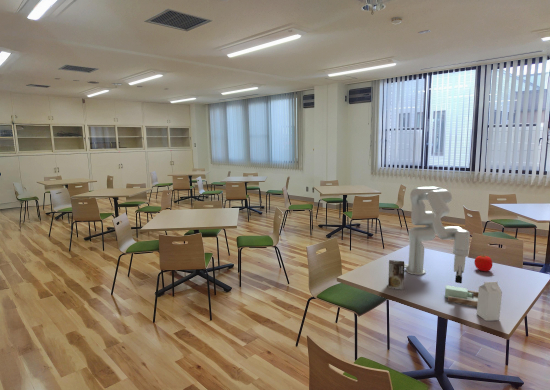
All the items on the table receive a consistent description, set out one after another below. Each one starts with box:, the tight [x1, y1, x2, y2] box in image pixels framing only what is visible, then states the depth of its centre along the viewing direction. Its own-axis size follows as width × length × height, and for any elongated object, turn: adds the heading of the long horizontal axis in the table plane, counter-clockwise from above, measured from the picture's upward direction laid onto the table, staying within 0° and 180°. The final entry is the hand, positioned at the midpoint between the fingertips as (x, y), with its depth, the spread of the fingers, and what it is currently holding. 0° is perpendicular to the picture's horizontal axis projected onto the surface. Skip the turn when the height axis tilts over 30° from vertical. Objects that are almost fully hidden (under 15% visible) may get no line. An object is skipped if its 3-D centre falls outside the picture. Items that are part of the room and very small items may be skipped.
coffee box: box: [387, 259, 405, 291], centre depth 206 cm, size 9×6×16 cm
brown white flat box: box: [447, 289, 479, 308], centre depth 189 cm, size 20×14×4 cm
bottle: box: [444, 284, 474, 299], centre depth 190 cm, size 5×5×14 cm
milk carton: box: [476, 281, 503, 322], centre depth 169 cm, size 7×7×19 cm
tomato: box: [474, 254, 493, 272], centre depth 232 cm, size 10×11×11 cm
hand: (458, 282), depth 190 cm, fingers closed
